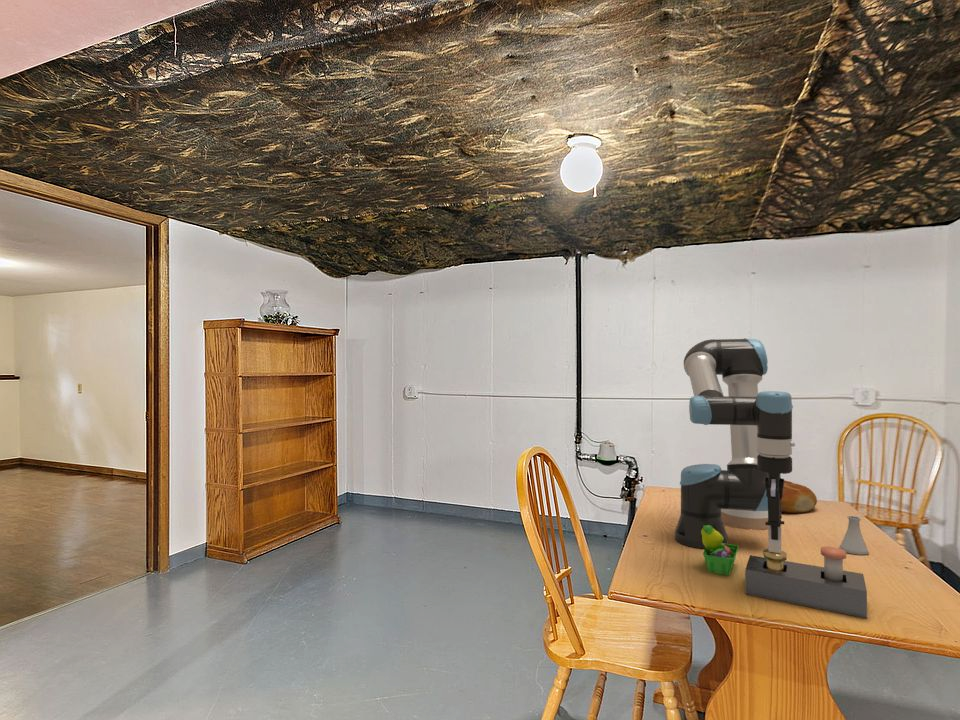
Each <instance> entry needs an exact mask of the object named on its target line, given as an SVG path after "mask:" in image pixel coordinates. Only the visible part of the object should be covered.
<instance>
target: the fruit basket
mask: <svg viewBox="0 0 960 720" xmlns="http://www.w3.org/2000/svg"><path fill="white" fill-rule="evenodd" d="M701 534H702V542H703V544H704V546H705V547H706V548H705V549H704V550H703V551H702V555H703V557H704V560H705V565H706V568H707V572H708V573H714V574H719V575H725V576H730V575H731V572H732V569H733V567H734V565H735V564H734V563H735V561H736V557H737V554H738V551H739V547H740V546H739V545H735V544H731V543H730V544H729V543H727V544H725V543H722V541H723V540H724V538H723V536H722V535H721V534H720V533H719V532H718V531H716V530H715V529H714V528H713V527H712V526H710V525H706V526H705V525H704V526H703V529H702V530H701Z"/></svg>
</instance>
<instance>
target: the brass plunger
mask: <svg viewBox="0 0 960 720" xmlns="http://www.w3.org/2000/svg"><path fill="white" fill-rule="evenodd" d="M762 557H765V558H767V569H770V570H776V571H782V572H783V561H787V559H788V558H787V557H788V555H787V552H785V551H783V550H781V553H775V552H769V548H764V549H763V556H762Z"/></svg>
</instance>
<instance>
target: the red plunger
mask: <svg viewBox="0 0 960 720" xmlns="http://www.w3.org/2000/svg"><path fill="white" fill-rule="evenodd" d="M820 555H821V556H822V557H823V560H824V561H823V563H824V579H827V580H833V581H839V582H843V571H844V570H843V569H844V567H843V566H844V563H843V562H844V561H843V560H845V559H847V552H846V551H845V550H843V549H840V547H836V546H827V545H826V546H821V547H820Z"/></svg>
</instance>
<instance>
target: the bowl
mask: <svg viewBox="0 0 960 720" xmlns="http://www.w3.org/2000/svg"><path fill="white" fill-rule="evenodd" d="M721 519H722V522H723V525H726V526H730V527H732V528H733V527H734V528H735V529H736V528H737V529H742V528H743V529H744V530H750V529H752V530H755V531H760V530H768V525H765V522H768V511H748V510H733V509H721Z"/></svg>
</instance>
